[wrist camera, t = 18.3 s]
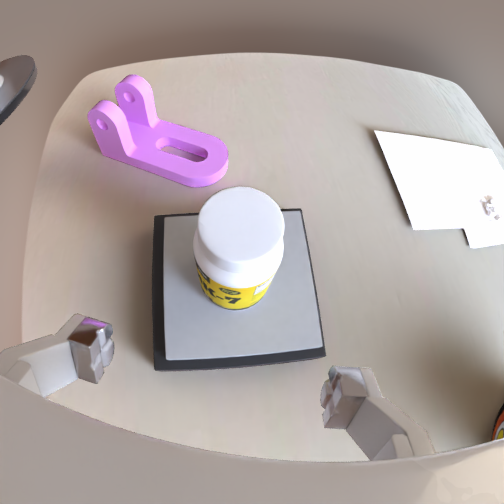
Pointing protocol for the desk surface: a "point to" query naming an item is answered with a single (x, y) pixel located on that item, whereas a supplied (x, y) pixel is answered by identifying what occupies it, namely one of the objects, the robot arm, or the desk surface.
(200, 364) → the scale
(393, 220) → the desk surface
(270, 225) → the supplement bottle
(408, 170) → the paper
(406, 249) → the desk surface
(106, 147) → the bracket
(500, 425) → the beverage can
